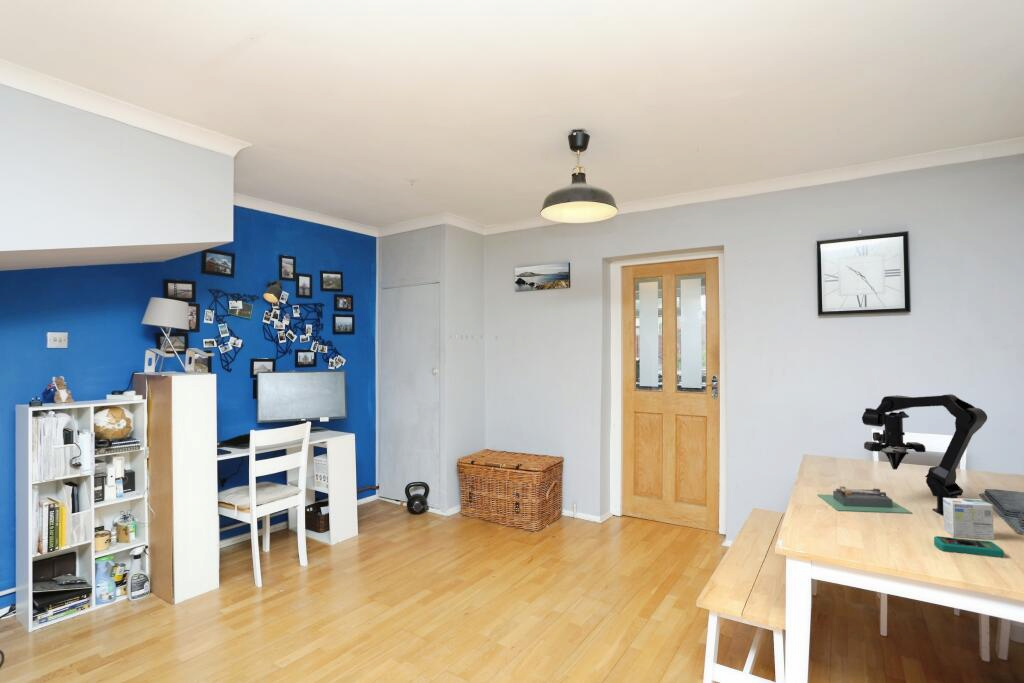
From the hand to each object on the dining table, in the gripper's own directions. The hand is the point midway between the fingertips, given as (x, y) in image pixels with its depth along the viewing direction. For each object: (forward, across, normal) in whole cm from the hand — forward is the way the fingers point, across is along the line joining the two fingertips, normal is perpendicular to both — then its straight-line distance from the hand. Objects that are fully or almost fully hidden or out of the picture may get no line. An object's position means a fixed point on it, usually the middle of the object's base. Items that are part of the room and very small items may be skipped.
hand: (894, 469), depth 203 cm
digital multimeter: (+13, +4, +50) cm, 51 cm away
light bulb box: (+12, -4, +36) cm, 38 cm away
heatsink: (+12, +14, +6) cm, 19 cm away
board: (+12, +14, +6) cm, 19 cm away
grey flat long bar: (+8, +15, +6) cm, 18 cm away
